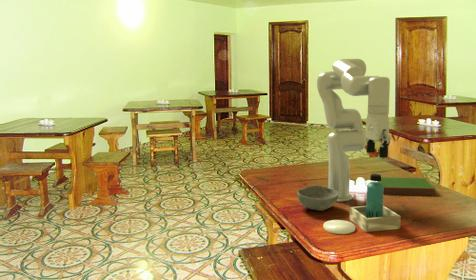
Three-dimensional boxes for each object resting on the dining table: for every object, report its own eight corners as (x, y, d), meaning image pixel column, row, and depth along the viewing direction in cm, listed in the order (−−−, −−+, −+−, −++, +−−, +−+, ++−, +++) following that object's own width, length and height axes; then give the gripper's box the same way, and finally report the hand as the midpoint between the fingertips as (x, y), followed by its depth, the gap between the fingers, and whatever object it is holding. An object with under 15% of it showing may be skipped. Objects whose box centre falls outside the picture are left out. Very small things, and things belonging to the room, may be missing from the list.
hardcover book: (380, 194, 204) (381, 187, 204) (375, 184, 223) (375, 177, 222) (436, 196, 200) (436, 188, 199) (425, 185, 218) (426, 178, 218)
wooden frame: (349, 219, 173) (349, 207, 172) (381, 216, 175) (381, 204, 174) (365, 232, 159) (366, 219, 158) (400, 228, 162) (400, 216, 161)
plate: (318, 223, 168) (318, 221, 168) (347, 221, 170) (347, 218, 170) (330, 235, 157) (330, 232, 156) (360, 232, 159) (361, 230, 159)
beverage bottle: (379, 220, 170) (380, 172, 167) (385, 226, 164) (387, 176, 160) (363, 220, 170) (364, 172, 167) (368, 227, 164) (370, 177, 160)
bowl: (310, 218, 174) (310, 199, 173) (289, 205, 190) (289, 188, 189) (346, 211, 181) (347, 193, 180) (323, 200, 197) (323, 183, 196)
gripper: (358, 108, 167) (357, 151, 170) (380, 112, 150) (379, 160, 153) (376, 107, 168) (374, 150, 171) (400, 111, 151) (398, 158, 154)
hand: (376, 154), depth 162 cm, fingers open, 9 cm apart
